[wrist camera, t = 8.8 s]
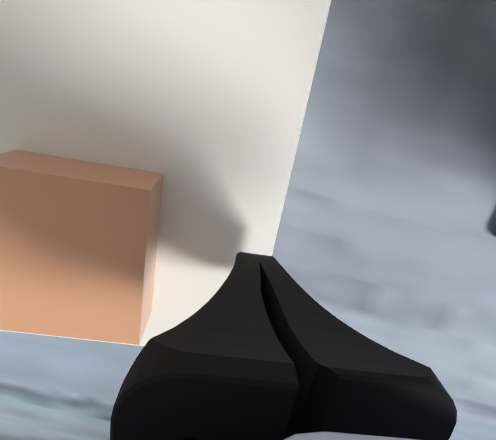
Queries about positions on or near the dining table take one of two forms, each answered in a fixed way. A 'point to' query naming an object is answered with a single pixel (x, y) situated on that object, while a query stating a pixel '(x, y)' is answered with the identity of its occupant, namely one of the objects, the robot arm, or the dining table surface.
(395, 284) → the dining table surface
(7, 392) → the dining table surface
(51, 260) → the terracotta tile
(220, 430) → the robot arm
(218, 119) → the cream plate
